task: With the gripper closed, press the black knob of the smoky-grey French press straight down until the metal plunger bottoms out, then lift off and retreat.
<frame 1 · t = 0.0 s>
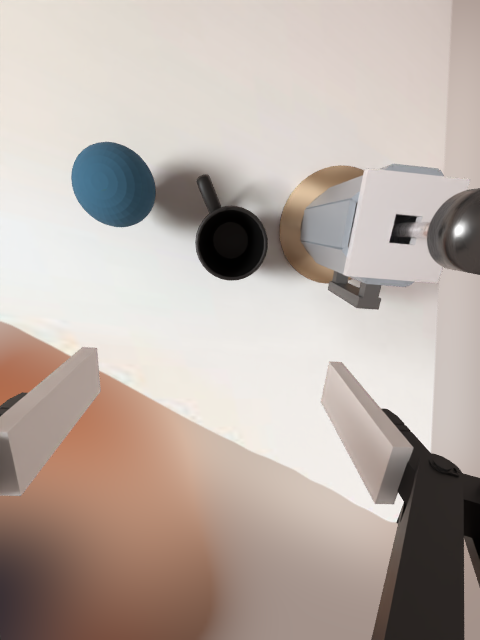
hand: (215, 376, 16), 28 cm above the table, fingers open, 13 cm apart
cork trivet: (334, 228, 41), on the table
carafe: (335, 228, 40), resting on cork trivet
plunger: (427, 230, 22), point 20 cm above the table, slide at 0.0 cm
mug: (225, 227, 40), on the table
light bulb: (137, 194, 38), on the table
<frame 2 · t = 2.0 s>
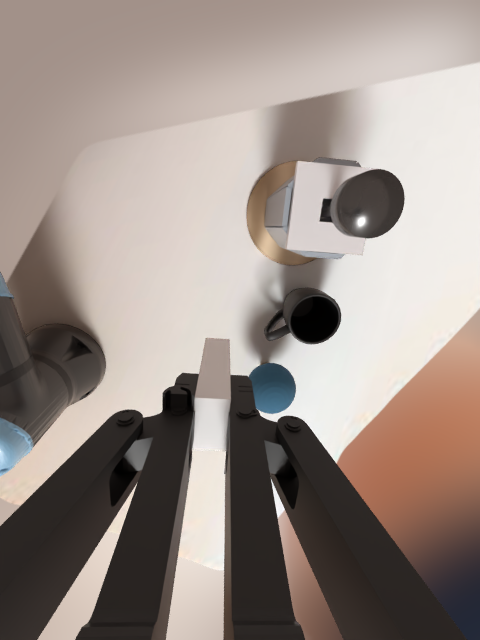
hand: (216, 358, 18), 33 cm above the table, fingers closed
cork trivet: (294, 216, 46), on the table
carafe: (295, 215, 46), resting on cork trivet
plunger: (342, 209, 28), point 20 cm above the table, slide at 0.0 cm
mug: (289, 307, 52), on the table
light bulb: (264, 365, 55), on the table
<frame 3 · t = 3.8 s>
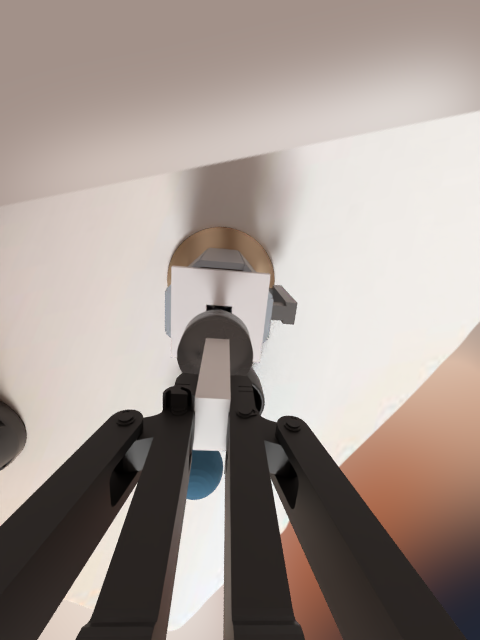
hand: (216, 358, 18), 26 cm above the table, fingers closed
cork trivet: (221, 282, 42), on the table
carafe: (221, 283, 42), resting on cork trivet
plunger: (217, 325, 24), point 19 cm above the table, slide at 0.6 cm, touching gripper
mug: (223, 373, 48), on the table
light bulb: (200, 432, 51), on the table
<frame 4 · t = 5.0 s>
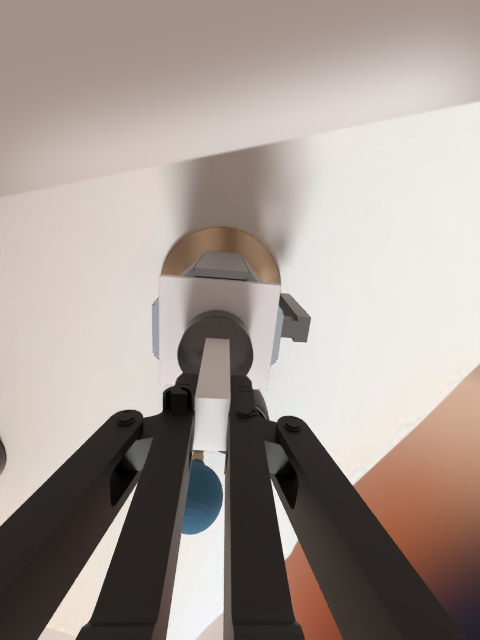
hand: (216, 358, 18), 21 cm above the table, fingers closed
cork trivet: (221, 289, 38), on the table
carafe: (221, 290, 37), resting on cork trivet
plunger: (218, 325, 24), point 15 cm above the table, slide at 5.5 cm, touching gripper
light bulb: (198, 452, 47), on the table
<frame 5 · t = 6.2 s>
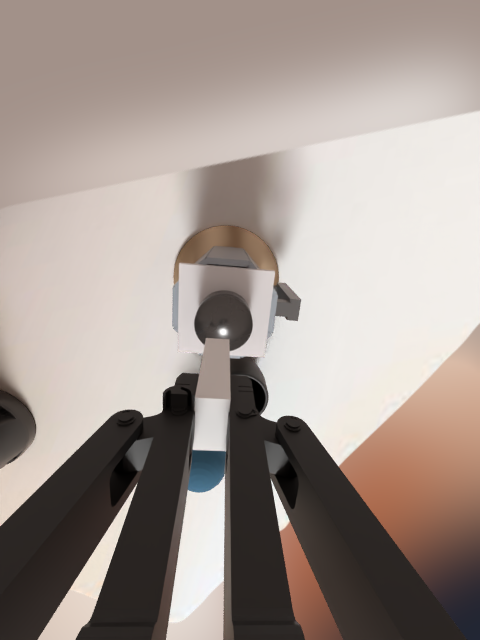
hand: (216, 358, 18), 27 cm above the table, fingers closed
cork trivet: (226, 280, 43), on the table
carafe: (226, 280, 43), resting on cork trivet
plunger: (224, 305, 30), point 15 cm above the table, slide at 5.5 cm
mug: (227, 370, 49), on the table
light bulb: (205, 427, 52), on the table
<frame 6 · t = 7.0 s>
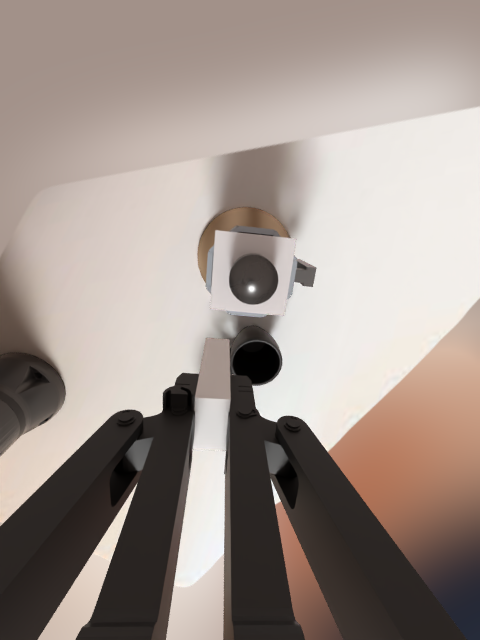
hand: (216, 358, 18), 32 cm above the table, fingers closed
cork trivet: (245, 257, 48), on the table
carafe: (245, 258, 47), resting on cork trivet
plunger: (250, 271, 34), point 15 cm above the table, slide at 5.5 cm
mug: (242, 342, 53), on the table
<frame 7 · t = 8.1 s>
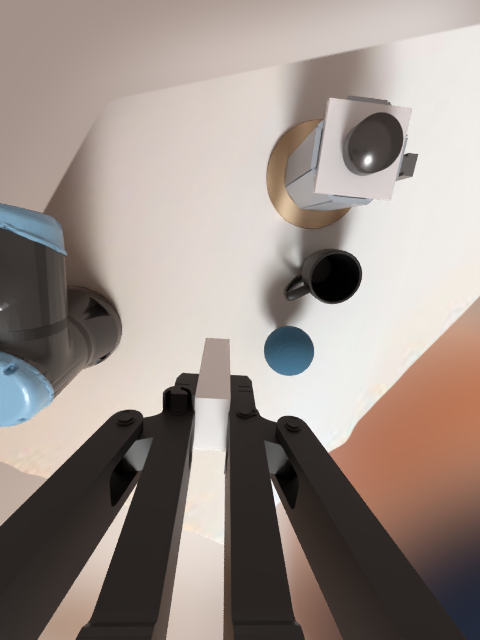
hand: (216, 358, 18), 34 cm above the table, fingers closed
cork trivet: (314, 177, 46), on the table
carafe: (315, 177, 46), resting on cork trivet
plunger: (351, 157, 33), point 15 cm above the table, slide at 5.5 cm
mug: (306, 272, 52), on the table
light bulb: (280, 333, 55), on the table
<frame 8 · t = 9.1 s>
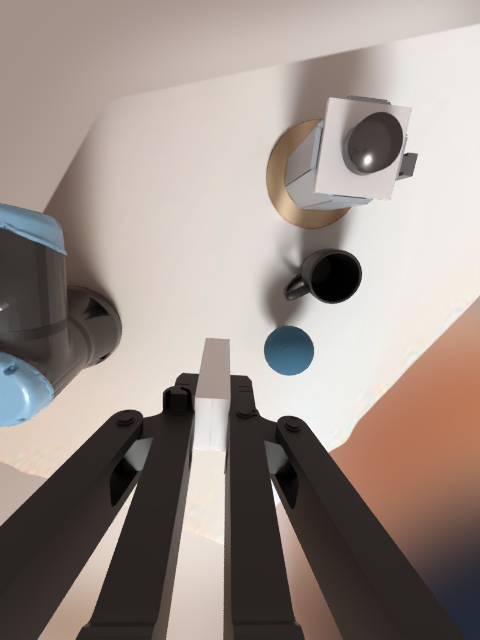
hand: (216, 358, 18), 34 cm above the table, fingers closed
cork trivet: (314, 177, 46), on the table
carafe: (315, 176, 46), resting on cork trivet
plunger: (351, 157, 33), point 15 cm above the table, slide at 5.5 cm
mug: (306, 272, 52), on the table
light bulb: (280, 333, 55), on the table
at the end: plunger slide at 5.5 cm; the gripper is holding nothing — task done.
